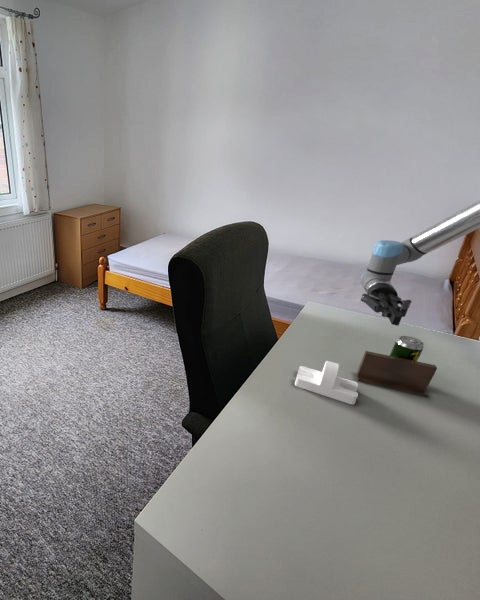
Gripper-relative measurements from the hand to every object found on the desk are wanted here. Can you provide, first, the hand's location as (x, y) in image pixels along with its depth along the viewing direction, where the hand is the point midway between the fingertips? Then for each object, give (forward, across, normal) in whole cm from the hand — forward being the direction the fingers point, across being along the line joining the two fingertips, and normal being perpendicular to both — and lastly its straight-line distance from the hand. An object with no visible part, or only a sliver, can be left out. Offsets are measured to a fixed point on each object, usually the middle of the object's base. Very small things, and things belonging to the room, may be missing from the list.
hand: (396, 321), depth 100 cm
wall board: (+19, +2, -11) cm, 22 cm away
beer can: (+15, 0, -11) cm, 19 cm away
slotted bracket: (+29, +17, -11) cm, 35 cm away
